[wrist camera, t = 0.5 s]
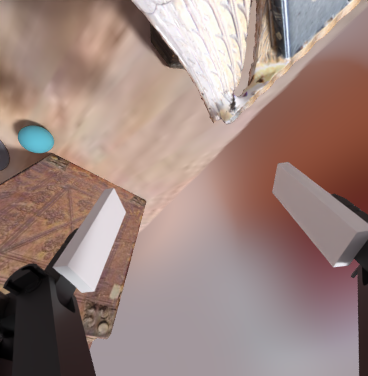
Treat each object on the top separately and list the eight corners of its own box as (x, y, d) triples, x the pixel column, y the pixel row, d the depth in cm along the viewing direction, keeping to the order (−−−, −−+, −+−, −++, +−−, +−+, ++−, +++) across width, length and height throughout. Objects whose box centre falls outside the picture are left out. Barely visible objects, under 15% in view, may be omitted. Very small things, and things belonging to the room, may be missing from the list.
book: (147, 201, 47) (111, 339, 22) (133, 219, 51) (89, 353, 26) (52, 152, 38) (-188, 293, 13) (44, 179, 42) (-151, 326, 17)
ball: (25, 124, 34) (2, 131, 30) (50, 121, 34) (30, 127, 29) (42, 149, 37) (23, 159, 33) (64, 146, 37) (48, 155, 32)
